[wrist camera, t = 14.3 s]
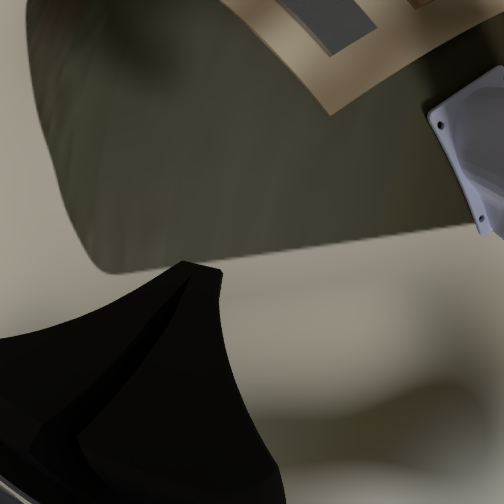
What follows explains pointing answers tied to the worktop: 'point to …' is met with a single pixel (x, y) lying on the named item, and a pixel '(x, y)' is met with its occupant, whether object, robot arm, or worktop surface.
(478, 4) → the socket board
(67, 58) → the worktop surface
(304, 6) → the bar
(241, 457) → the robot arm
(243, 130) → the worktop surface
